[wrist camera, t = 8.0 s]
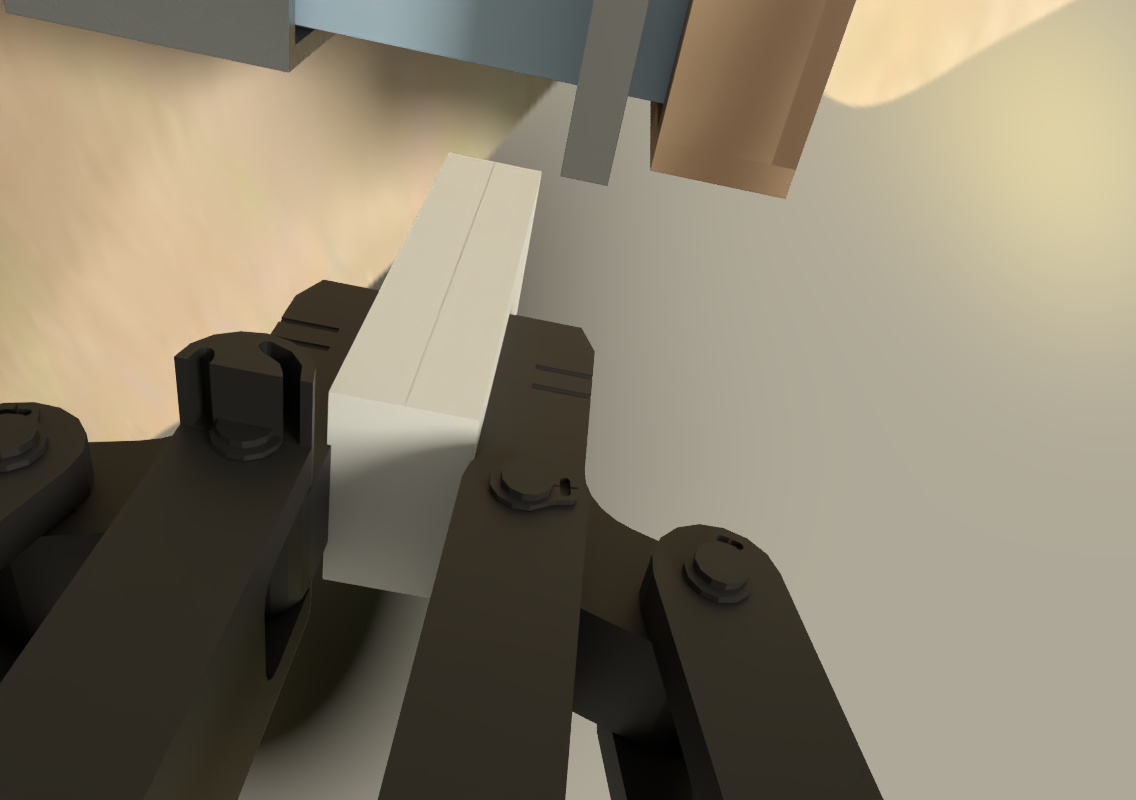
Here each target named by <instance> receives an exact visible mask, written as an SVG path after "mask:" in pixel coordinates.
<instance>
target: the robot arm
mask: <svg viewBox="0 0 1136 800" xmlns="http://www.w3.org/2000/svg"><path fill="white" fill-rule="evenodd" d="M541 173H542V172H541V171H537V170H532V169H527V168H522V167H517V166H512V165H507V164H503V163H498V162H493V161H488V160H484V159H479V158H474V157H469V156H464V155H459V154H455V153H450V152H449V153H448V155H447V157H446V159H445V161H444V163H443V165H442V167H441V169H440V171H439V173H438V175H437V177H436V179H435V181H434V183H433V185H432V187H431V189H430V191H429V193H428V195H427V197H426V199H425V201H424V203H423V205H422V207H421V209H420V211H419V213H418V215H417V217H416V219H415V221H414V223H413V225H412V227H411V229H410V231H409V233H408V235H407V237H406V239H405V241H404V243H403V245H402V247H401V249H400V251H399V253H398V255H397V257H396V259H395V261H394V263H393V265H392V267H391V269H390V271H389V273H388V275H387V277H386V279H385V281H384V283H383V285H382V287H381V289H380V291H378V290H373V289H368V288H363V287H358V286H353V285H348V284H343V283H338V282H333V281H328V280H322V281H321V282H319V283H317V284H315V285H314V286H312V287H310V288H308V289H307V290H305V291H303V292H301V293H300V294H298V295H296V296H295V298H294V299H293V301H292V302H291V304H290V305H289V307H288V308H287V310H286V312H285V313H284V315H283V316H282V320H281V322H278V324H277V325H276V327H275V328H274V330H273V331H272V333H271V334H266V333H254V332H242V331H240V332H232V333H224V334H216V335H212V336H209V337H207V338H204V339H201V340H199V341H196V342H193V343H190V344H189V345H188V346H187V347H185V348H184V349H183V350H182V351H181V352H179V353H178V354H177V355H176V356H174V361H175V372H176V382H177V393H178V404H179V414H180V425H179V427H178V428H177V430H176V431H175V433H174V434H173V436H169V437H165V438H162V439H151V440H141V441H115V442H88V439H87V434H86V432H85V430H84V428H83V426H82V425H81V423H80V421H79V419H78V418H76V417H75V416H73V415H71V414H70V413H68V412H66V411H65V410H63V409H61V408H58V407H54V406H49V405H45V404H40V403H35V402H28V403H2V404H0V800H238V798H239V795H240V792H241V790H242V787H243V785H244V782H245V779H246V777H247V774H248V772H249V769H250V767H251V764H252V761H253V759H254V756H255V754H256V751H257V748H258V746H259V744H260V741H261V738H262V736H263V733H264V731H265V728H266V726H267V723H268V720H269V718H270V715H271V713H272V710H273V707H274V705H275V702H276V700H277V697H278V695H279V692H280V690H281V687H282V684H283V682H284V679H285V677H286V674H287V672H288V669H289V666H290V664H291V661H292V658H293V656H294V653H295V651H296V648H297V646H298V643H299V641H300V638H301V636H302V633H303V630H304V628H305V625H306V622H307V620H308V617H309V610H310V603H311V582H312V579H313V576H314V574H315V572H316V569H317V567H318V564H319V562H320V559H321V557H322V554H323V552H324V555H323V556H324V557H323V579H327V580H332V581H338V582H343V583H349V584H355V585H360V586H366V587H371V588H376V589H382V590H388V591H394V592H399V593H404V594H410V595H416V596H421V597H427V598H430V601H429V605H428V608H427V612H426V616H425V620H424V624H423V628H422V632H421V635H420V639H419V643H418V647H417V651H416V655H415V659H414V662H413V666H412V670H411V674H410V678H409V682H408V685H407V689H406V693H405V697H404V701H403V705H402V708H401V712H400V716H399V720H398V724H397V728H396V732H395V735H394V739H393V743H392V747H391V751H390V755H389V759H388V763H387V767H386V770H385V774H384V778H383V782H382V786H381V789H380V793H379V797H378V800H565V794H566V782H567V770H568V757H569V744H570V732H571V718H572V711H573V712H575V713H577V714H579V715H580V716H582V717H584V718H586V719H588V720H590V721H592V722H594V723H596V724H597V734H598V739H599V744H600V749H601V754H602V758H603V763H604V768H605V773H606V777H607V782H608V787H609V792H610V797H611V800H883V798H882V796H881V793H880V791H879V789H878V787H877V785H876V782H875V780H874V778H873V776H872V774H871V772H870V769H869V767H868V765H867V763H866V760H865V758H864V756H863V754H862V752H861V749H860V747H859V746H858V743H857V741H856V739H855V736H854V734H853V732H852V730H851V728H850V726H849V723H848V721H847V719H846V717H845V714H844V712H843V710H842V708H841V706H840V703H839V701H838V699H837V697H836V695H835V692H834V690H833V688H832V686H831V684H830V682H829V679H828V677H827V675H826V673H825V670H824V668H823V666H822V664H821V662H820V660H819V657H818V655H817V653H816V651H815V649H814V647H813V644H812V642H811V640H810V638H809V636H808V633H807V631H806V629H805V627H804V625H803V622H802V620H801V618H800V616H799V614H798V611H797V610H796V607H795V605H794V603H793V600H792V598H791V596H790V594H789V592H788V589H787V587H786V585H785V583H784V581H783V578H782V576H781V574H780V573H779V571H778V570H777V568H776V567H775V566H774V564H773V562H772V561H771V560H770V558H769V556H768V555H767V554H766V553H765V552H763V551H762V550H761V549H759V548H758V547H757V546H756V545H755V544H753V543H752V542H751V541H750V540H748V539H747V538H745V537H742V536H740V535H738V534H735V533H733V532H731V531H729V530H726V529H724V528H719V527H713V526H707V525H700V524H698V525H691V526H684V527H678V528H676V529H674V530H672V531H671V532H669V533H668V534H666V535H665V536H663V537H661V538H660V540H659V541H657V540H655V539H653V538H650V537H648V536H646V535H644V534H641V533H639V532H637V531H635V530H632V529H631V528H629V527H627V526H625V525H624V524H622V523H620V522H618V521H616V520H615V519H614V518H612V517H611V516H610V515H609V514H608V513H606V512H605V511H604V510H603V509H601V507H600V506H599V505H598V503H597V502H596V501H595V500H594V499H593V497H592V496H591V494H590V492H589V489H588V487H587V485H586V480H585V459H586V447H587V434H588V423H589V412H590V396H591V388H592V376H593V364H594V350H593V348H592V346H591V344H590V343H589V341H588V339H587V337H586V336H585V334H584V332H583V330H582V328H579V327H573V326H569V325H563V324H558V323H553V322H548V321H543V320H538V319H533V318H528V317H523V316H518V315H516V314H517V309H518V304H519V298H520V292H521V287H522V281H523V275H524V270H525V264H526V258H527V253H528V247H529V241H530V236H531V230H532V225H533V219H534V213H535V208H536V202H537V196H538V191H539V185H540V179H541Z"/></svg>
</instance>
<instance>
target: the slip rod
mask: <svg viewBox="0 0 1136 800" xmlns="http://www.w3.org/2000/svg"><path fill="white" fill-rule="evenodd" d="M688 4H689V0H295V25H300V26H305V27H309V28H314V29H319V30H323V31H328V32H333V33H337V34H342V35H346V36H351V37H356V38H360V39H365V40H370V41H374V42H379V43H384V44H388V45H393V46H398V47H402V48H407V49H412V50H416V51H421V52H426V53H430V54H435V55H440V56H444V57H449V58H454V59H458V60H463V61H467V62H472V63H477V64H481V65H486V66H491V67H495V68H500V69H505V70H509V71H514V72H519V73H523V74H528V75H533V76H537V77H542V78H547V79H551V80H556V81H561V82H565V83H571V84H575V85H578V86H577V92H576V97H575V102H574V108H573V113H572V118H571V124H570V129H569V134H568V139H567V144H566V149H565V155H564V160H563V166H562V170H561V176H562V177H567V178H572V179H577V180H582V181H586V182H591V183H596V184H601V185H606V186H607V185H608V181H609V177H610V172H611V168H612V163H613V159H614V154H615V150H616V145H617V141H618V136H619V132H620V128H621V123H622V119H623V115H624V110H625V106H626V101H627V97H628V96H630V97H635V98H640V99H644V100H649V101H654V102H658V103H663V104H664V100H665V96H666V92H667V88H668V84H669V80H670V76H671V72H672V68H673V64H674V60H675V56H676V52H677V48H678V44H679V40H680V36H681V32H682V28H683V24H684V20H685V16H686V12H687V8H688Z"/></svg>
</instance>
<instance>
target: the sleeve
mask: <svg viewBox="0 0 1136 800" xmlns="http://www.w3.org/2000/svg"><path fill="white" fill-rule="evenodd" d="M4 3H5V9H6V13H11V14H16V15H20V16H25V17H30V18H35V19H39V20H44V21H49V22H53V23H58V24H63V25H68V26H72V27H77V28H82V29H86V30H91V31H96V32H101V33H105V34H110V35H115V36H119V37H124V38H129V39H134V40H138V41H143V42H148V43H152V44H157V45H162V46H166V47H171V48H176V49H181V50H185V51H190V52H195V53H199V54H204V55H209V56H214V57H218V58H223V59H228V60H232V61H237V62H242V63H247V64H251V65H256V66H261V67H265V68H270V69H275V70H280V71H284V72H290V71H291V70H293V69H294V68H295V67H296V66H297V65H298V64H300V63H301V62H302V61H303V60H304V59H305V58H307V57H308V56H309V55H310V54H311V53H313V52H314V51H315V50H316V49H317V48H318V47H320V46H321V45H322V44H323V43H324V42H326V41H327V40H328V39H329V38H330V37H331V36H333V35H334V34H335V33H333V32H328V31H323V30H319V29H314V28H309V27H305V26H300V25H295V0H4Z"/></svg>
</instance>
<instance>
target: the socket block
mask: <svg viewBox="0 0 1136 800" xmlns="http://www.w3.org/2000/svg"><path fill="white" fill-rule="evenodd" d="M855 2H856V0H689V4H688V8H687V12H686V16H685V20H684V24H683V28H682V32H681V36H680V40H679V44H678V48H677V52H676V56H675V60H674V64H673V68H672V72H671V76H670V80H669V84H668V88H667V92H666V96H665V100H664V104H663V103H658V102H654V101H651V141H650V142H651V144H650V154H651V155H650V156H651V157H650V160H651V161H650V169H651V171H655V172H660V173H665V174H670V175H675V176H679V177H684V178H689V179H693V180H698V181H703V182H708V183H713V184H717V185H722V186H727V187H731V188H736V189H741V190H745V191H750V192H755V193H760V194H764V195H769V196H774V197H779V198H784V199H786V195H787V192H788V190H789V187H790V185H791V182H792V179H793V176H794V173H795V170H796V168H797V165H798V162H799V159H800V156H801V153H802V151H803V148H804V145H805V142H806V139H807V137H808V134H809V131H810V128H811V125H812V123H813V120H814V117H815V114H816V111H817V108H818V106H819V103H820V100H821V97H822V94H823V92H824V89H825V86H826V83H827V80H828V78H829V75H830V72H831V69H832V66H833V64H834V61H835V58H836V55H837V52H838V49H839V47H840V44H841V41H842V38H843V35H844V33H845V30H846V27H847V24H848V21H849V18H850V16H851V13H852V10H853V7H854V4H855Z"/></svg>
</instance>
